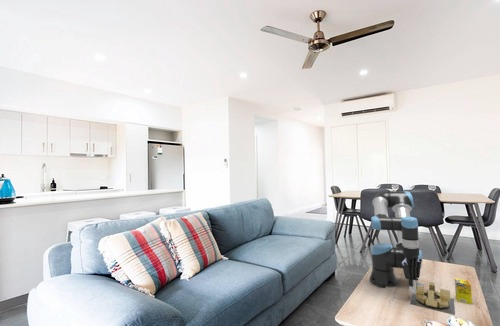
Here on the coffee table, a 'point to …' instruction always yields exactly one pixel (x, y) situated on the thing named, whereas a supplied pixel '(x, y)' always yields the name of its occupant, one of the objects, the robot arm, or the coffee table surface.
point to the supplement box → (463, 291)
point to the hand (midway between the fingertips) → (413, 292)
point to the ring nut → (432, 296)
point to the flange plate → (449, 309)
